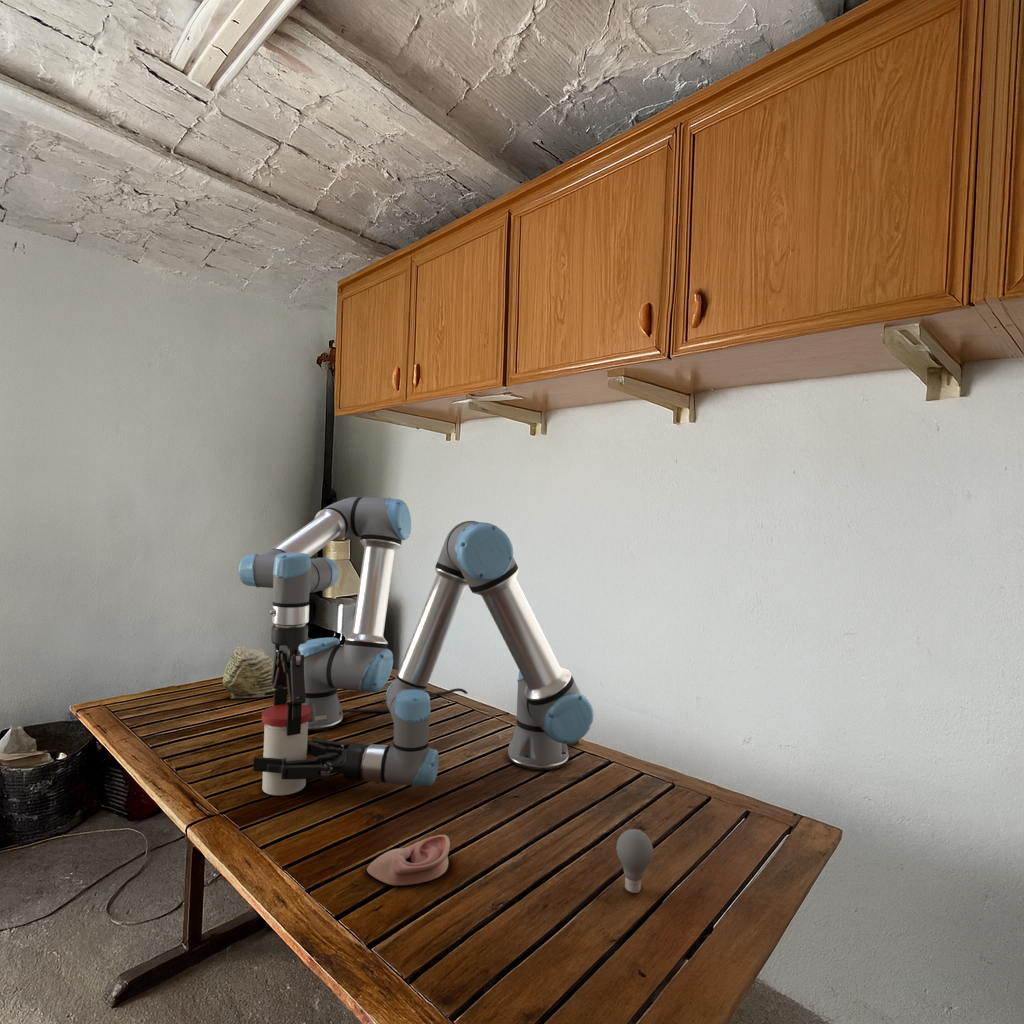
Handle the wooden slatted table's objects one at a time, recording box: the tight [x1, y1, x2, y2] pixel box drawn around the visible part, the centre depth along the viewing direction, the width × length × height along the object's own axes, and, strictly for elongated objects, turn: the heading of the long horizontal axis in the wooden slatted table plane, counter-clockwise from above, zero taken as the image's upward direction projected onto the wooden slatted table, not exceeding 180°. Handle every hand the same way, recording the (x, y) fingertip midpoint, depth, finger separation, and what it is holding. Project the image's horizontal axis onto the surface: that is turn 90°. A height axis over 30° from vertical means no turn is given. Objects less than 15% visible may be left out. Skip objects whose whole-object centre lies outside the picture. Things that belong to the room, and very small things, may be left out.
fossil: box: [222, 646, 287, 699], centre depth 198 cm, size 9×18×15 cm, turn 132°
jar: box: [261, 721, 309, 796], centre depth 138 cm, size 9×9×15 cm
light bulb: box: [615, 828, 654, 894], centre depth 106 cm, size 6×6×10 cm
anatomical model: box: [366, 834, 451, 886], centre depth 109 cm, size 13×4×12 cm
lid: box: [261, 704, 311, 727], centre depth 138 cm, size 10×10×2 cm
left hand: (286, 726), depth 138 cm, fingers closed on lid, 10 cm apart
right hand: (265, 754), depth 138 cm, fingers closed on jar, 9 cm apart
